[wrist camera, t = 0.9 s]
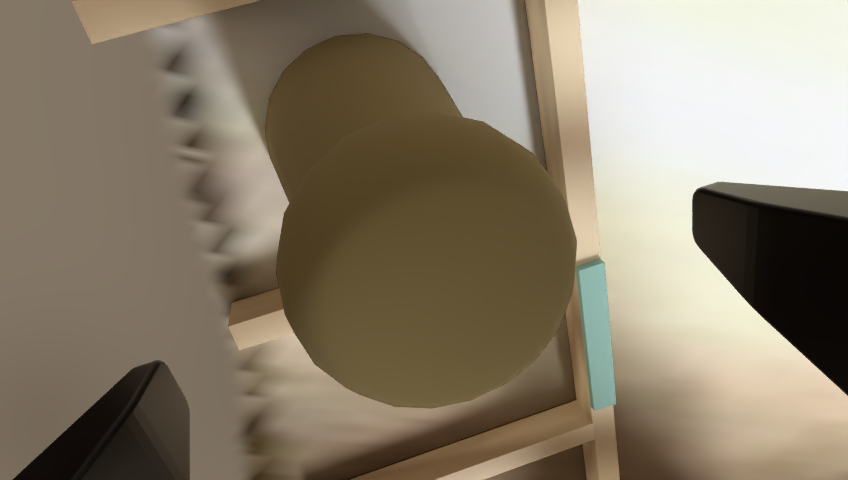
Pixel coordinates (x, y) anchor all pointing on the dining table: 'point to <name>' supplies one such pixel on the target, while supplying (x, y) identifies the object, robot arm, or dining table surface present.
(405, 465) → the notch rack
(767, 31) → the dining table surface
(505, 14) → the dining table surface
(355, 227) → the cork
